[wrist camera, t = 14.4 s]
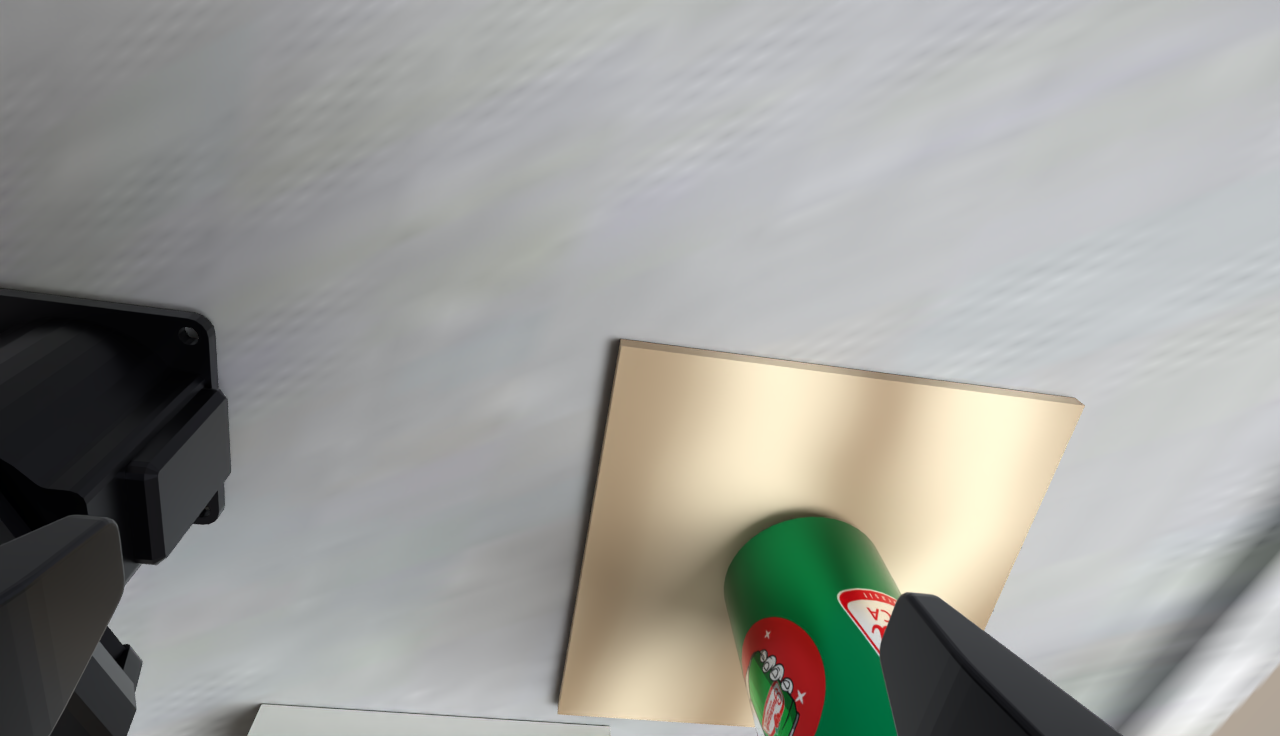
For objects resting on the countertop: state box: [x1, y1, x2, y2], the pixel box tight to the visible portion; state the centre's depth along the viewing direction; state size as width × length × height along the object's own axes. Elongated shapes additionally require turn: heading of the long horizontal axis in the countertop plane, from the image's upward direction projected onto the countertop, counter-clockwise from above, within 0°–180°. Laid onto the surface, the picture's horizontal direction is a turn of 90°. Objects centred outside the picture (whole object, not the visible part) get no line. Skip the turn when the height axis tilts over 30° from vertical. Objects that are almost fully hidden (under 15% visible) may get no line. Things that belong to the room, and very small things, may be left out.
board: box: [558, 339, 1085, 727], centre depth 25 cm, size 14×14×1 cm
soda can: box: [724, 517, 901, 736], centre depth 20 cm, size 5×5×12 cm
